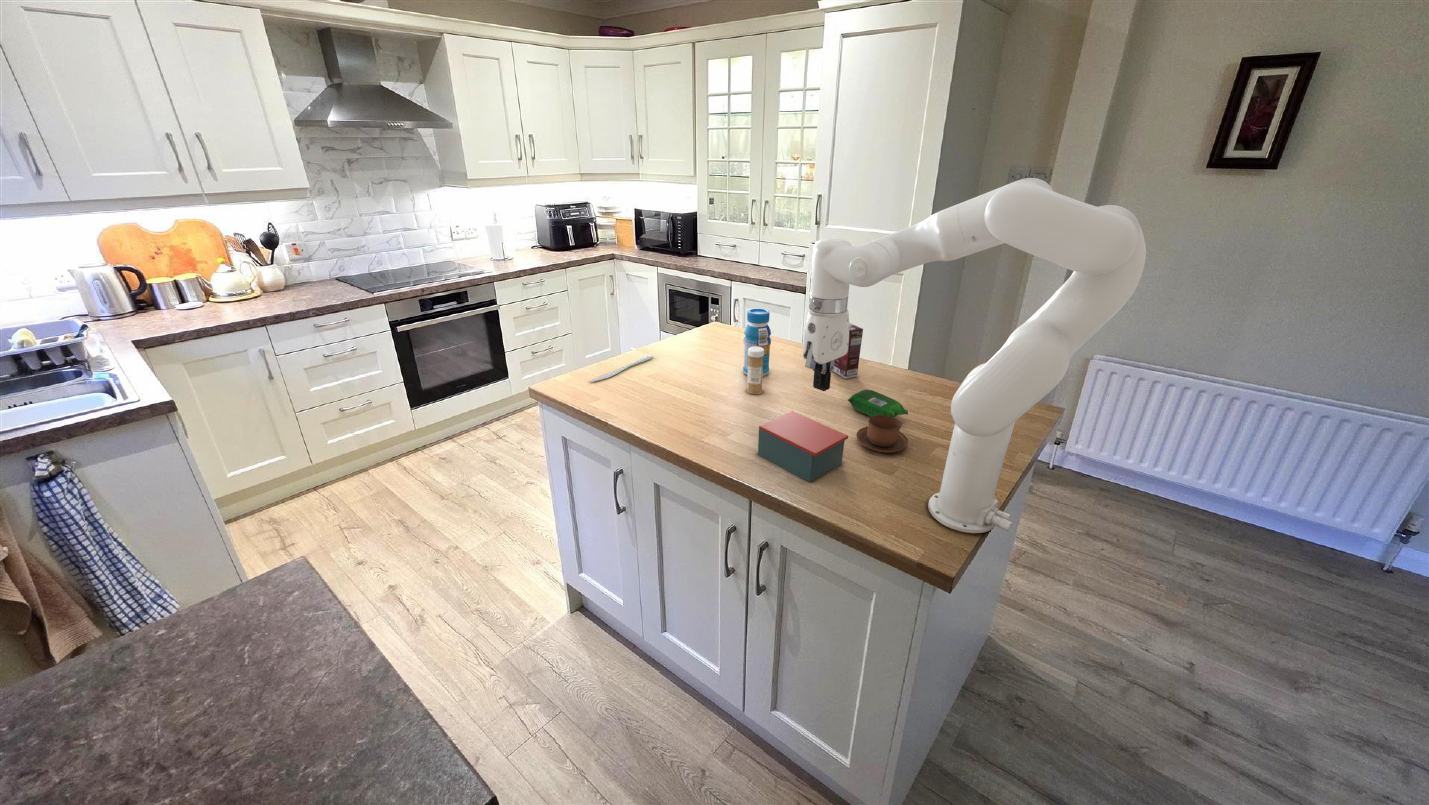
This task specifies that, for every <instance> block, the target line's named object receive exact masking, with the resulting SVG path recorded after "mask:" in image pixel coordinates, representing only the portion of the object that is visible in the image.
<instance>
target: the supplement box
mask: <svg viewBox="0 0 1429 805" xmlns="http://www.w3.org/2000/svg"><path fill="white" fill-rule="evenodd" d="M863 334H864V328H863V327H860V326H857V325H855V324H853V323H851V322H849V345H848V352H847V353H846V354H845V355H844V356H842V357H840V358H838V359H837V360H836V361H835V363H834V367H833V370H832V371H831V372H832V373H835V374H837V375H839V376H840V377H841V378H843V379H845V380H849V379H853V378H857V377H858V372H859V364H860V357H861V348H862V342H863Z"/></svg>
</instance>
